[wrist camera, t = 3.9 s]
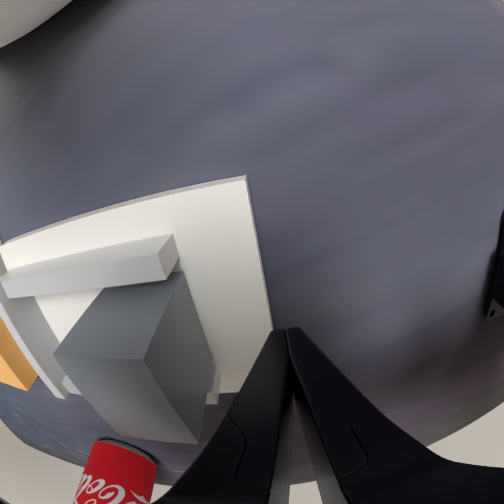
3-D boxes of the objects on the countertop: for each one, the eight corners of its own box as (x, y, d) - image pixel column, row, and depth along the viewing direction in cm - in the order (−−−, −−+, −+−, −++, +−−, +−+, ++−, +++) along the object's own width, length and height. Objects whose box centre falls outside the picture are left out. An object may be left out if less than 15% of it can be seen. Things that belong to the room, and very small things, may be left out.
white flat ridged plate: (246, 174, 9) (242, 194, 6) (280, 371, 12) (284, 423, 9) (10, 239, 10) (-29, 265, 7) (80, 374, 13) (61, 409, 10)
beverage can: (167, 456, 17) (146, 570, 6) (150, 469, 20) (131, 560, 9) (98, 427, 16) (61, 540, 5) (93, 445, 18) (64, 535, 7)
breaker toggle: (183, 271, 9) (142, 359, 5) (213, 357, 10) (199, 444, 7) (109, 281, 9) (52, 354, 5) (147, 360, 11) (119, 435, 7)
